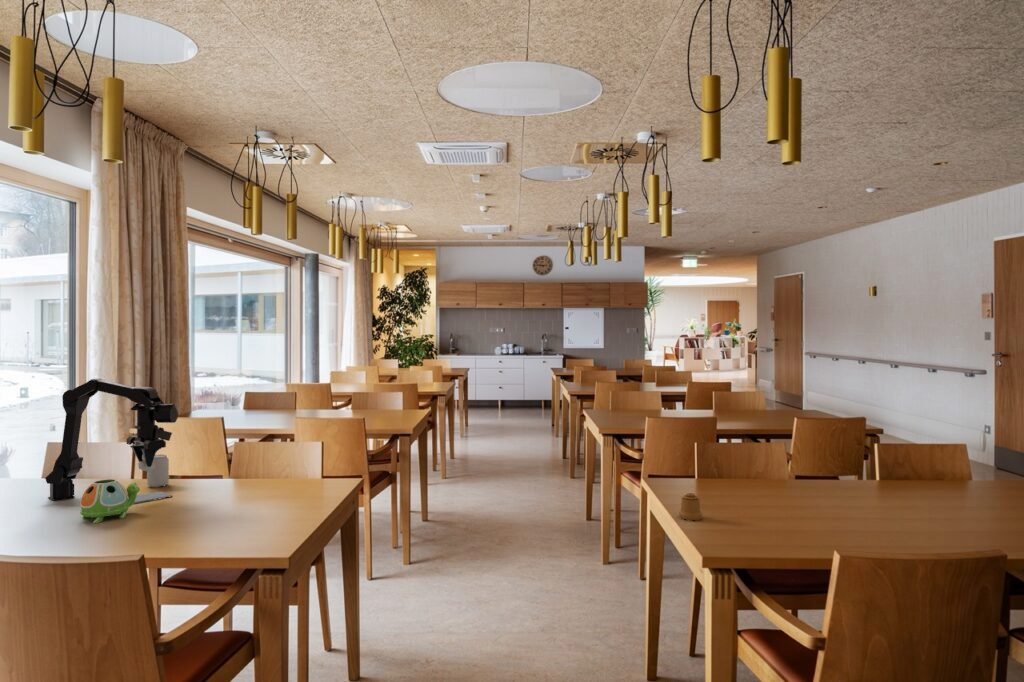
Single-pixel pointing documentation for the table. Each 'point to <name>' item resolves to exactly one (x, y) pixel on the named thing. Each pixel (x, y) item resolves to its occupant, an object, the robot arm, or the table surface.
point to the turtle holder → (107, 499)
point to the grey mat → (150, 496)
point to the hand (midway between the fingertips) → (145, 465)
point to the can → (159, 472)
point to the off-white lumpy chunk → (145, 465)
